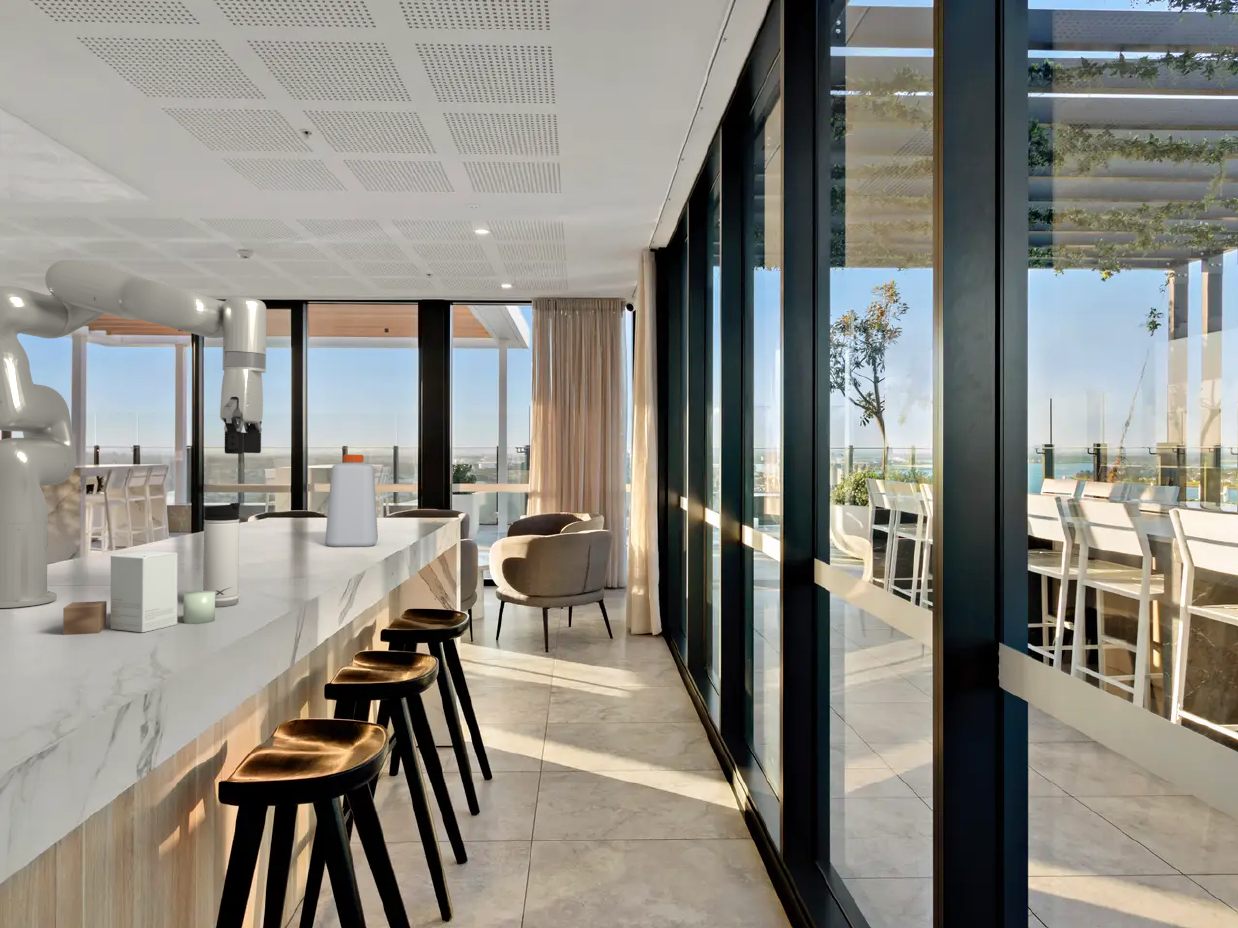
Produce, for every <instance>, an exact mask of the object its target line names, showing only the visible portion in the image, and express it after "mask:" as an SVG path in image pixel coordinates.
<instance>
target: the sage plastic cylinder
mask: <svg viewBox="0 0 1238 928" xmlns="http://www.w3.org/2000/svg"><path fill="white" fill-rule="evenodd" d="M182 605H183V609H182V610H183V615H182V617H183V618H182V622H183V624H186V625H199V624H200V625H202V624H203V625H204V624H208V623H213V622H214V621H216V607H215V592H214V591H203V590H194V591H188V592H187V591H186V592H184V593H183V604H182Z"/></svg>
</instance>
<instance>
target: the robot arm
mask: <svg viewBox="0 0 1238 928" xmlns="http://www.w3.org/2000/svg"><path fill="white" fill-rule="evenodd" d="M44 278H45V279H44V281H45V285H46V288H47V289H48V291H49V293H51V294H50V295H48V294H45V293H40V292H37V291H34V290H30V289H27V288H23V287H18V286H10V285H0V431H4V432H19V433H21V432H22V435H23V437H6V438H3V439H0V609H8V608H9V609H10V608H11V609H12V608H13V609H14V608H22V607H32V606H37V605H38V606H39V605H45V604H48V603H52V602H54V601H56V600H57V598H58V594H57V592H55V591H48V537H49V536H48V531H49V530H48V529H49V526H48V523H49V521H48V517H49V516H48V513H49V512H48V505H47V500H46V497H45V495H44V493H43V491H42V488H41V487H45V486H54V485H55V486H56V485H59V484H61V483H64V482H66V481H67V480H69V478H71V476H72V475H74V472H75V469H76V466H77V465H76V464H77V454H76V453H77V452H76V446H75V440H74V432H73V428H72V422H71V415H70V410H69V407H68V405H67V402H66V400H65V399H64V397H63V395H62V394H60V392H59V391H57V390H56V389H55V388H53V387H50V386H47V385H43V384H36V383H35V384H34V381H33V377H32V374H31V368H30V362H29V358H28V355H27V352H26V350H25V349H24V347H23V346H22V344H21V342H20V341H19V339H18V335H19V334H21V335H25V336H32V337H38V338H41V339H43V338H44V339H58V338H63V337H65V336H68V335H70V334H72V333H73V332H75V331H77V330H78V329H80V328H83V327H85V326H87V325H88V324H90V323H92V322H94V321H96V320H98V319H99V318H101V317H103V316H105V315H109V316H114V317H117V318H122V319H123V320H124V319H125V320H130V321H134V320H139V321H143V322H147V323H150V324H155V325H158V326H163V327H166V328H170V329H174V330H177V331H181V332H185V333H189V334H193V335H197V336H200V337H205V338H208V339H220V338H222V371H223V376H222V383H221V392H220V393H221V394H220V396H221V397H220V410H219V411H220V413H219V417H220V420H221V421H222V422H223V423H224V427H223V430H224V431H223V432H224V454H228V455H229V454H231V455H242V454H260V453H262V430H263V429H262V426H261V425H262V423H263V421H262V420H263V414H264V405H263V404H264V396H263V395H264V392H263V391H264V389H263V376H262V374H264V373H266V372H267V370H266V369H267V364H266V363H267V362H266V361H267V306H266V304H265V302H263V301H262V300H260V299H257V298H252V297H245V296H244V297H243V296H233V297H229V298H226V299H225V300H220V299H217V298H214V297H213V298H212V297H210V296H207V295H205V294H202V293H198V292H196V291H193V290H189V289H185V288H181V287H178V286H173V285H170V284H165V283H162V282H157V281H154V280H149V279H147V278H143V276H140V275H135V274H131V273H127V272H123V271H120V270H116V269H112V268H107V267H104V266H99V265H95V264H92V263H88V262H84V261H80V260H74V259H64V260H63V259H62V260H58V261H57V262H54V263H53V264H51V265H50V267H48V269H47V271H46V273H45V276H44ZM243 428H244V430H245V432H244V431H243ZM242 431H243V432H242Z"/></svg>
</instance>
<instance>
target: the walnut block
mask: <svg viewBox="0 0 1238 928" xmlns="http://www.w3.org/2000/svg"><path fill="white" fill-rule="evenodd" d="M107 602H108V601H107V600H103V601H100V600H99V601H97V600H96V601H76V602H75V601H73V602H71V603H69V604H67V605H66V606H65V607H63V618H62V619H63V620H62V621H63V623H62V624H63V625H62V627H63V629H62V633H63V635H62V636H68V635H69V636H71V635H91V634H92V635H93V634H99V633H101V632H102V631H103V630H104V629H106V628H107V613H108V612H107V610H108V609H107V605H108V603H107Z"/></svg>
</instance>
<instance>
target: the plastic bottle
mask: <svg viewBox="0 0 1238 928" xmlns="http://www.w3.org/2000/svg"><path fill="white" fill-rule="evenodd" d="M376 497H377V496H376V481H375V467H374V465H373V464H371V463H365V461H364V455H363V454H344V455H343V456H342V462H339V463H335V464H333V465H332V467H331V471H330V485H329V494H328V507H327V518H326V529H325V545H326V546H329V547H332V548H351V547H352V548H354V547H356V548H363V547H364V548H366V547H368V548H369V547H373V546H376V544H377V542H378V538H379V537H378V536H379V535H378V520H377V519H378V518H377V517H378V516H377V499H376Z"/></svg>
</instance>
